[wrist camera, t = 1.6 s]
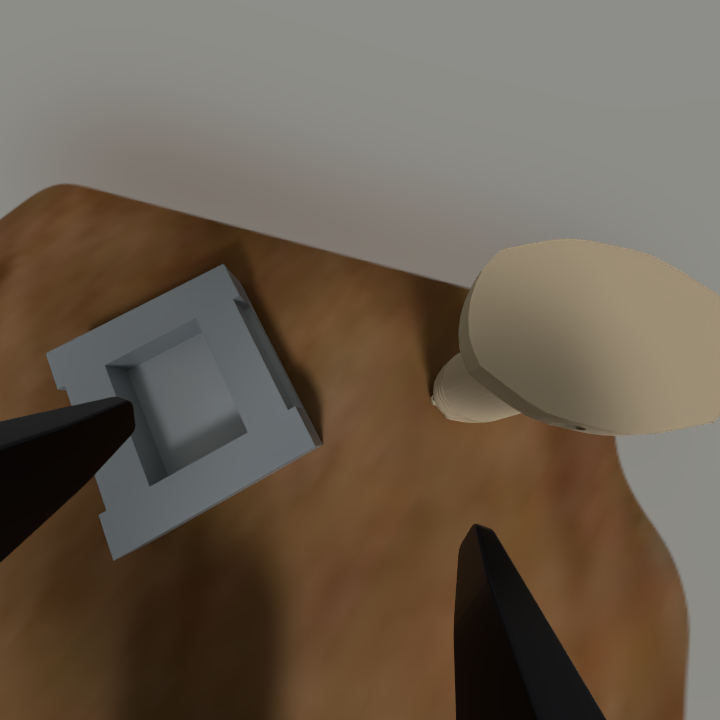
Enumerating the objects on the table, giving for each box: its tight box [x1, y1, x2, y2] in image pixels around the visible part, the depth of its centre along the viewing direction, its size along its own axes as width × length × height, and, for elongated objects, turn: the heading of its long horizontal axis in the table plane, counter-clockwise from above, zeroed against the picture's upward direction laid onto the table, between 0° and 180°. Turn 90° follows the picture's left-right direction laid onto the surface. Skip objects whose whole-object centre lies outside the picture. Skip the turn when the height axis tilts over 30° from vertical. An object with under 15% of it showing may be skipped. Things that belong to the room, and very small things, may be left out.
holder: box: [46, 264, 323, 561], centre depth 22 cm, size 14×13×3 cm
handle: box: [431, 239, 720, 435], centre depth 15 cm, size 5×6×15 cm
